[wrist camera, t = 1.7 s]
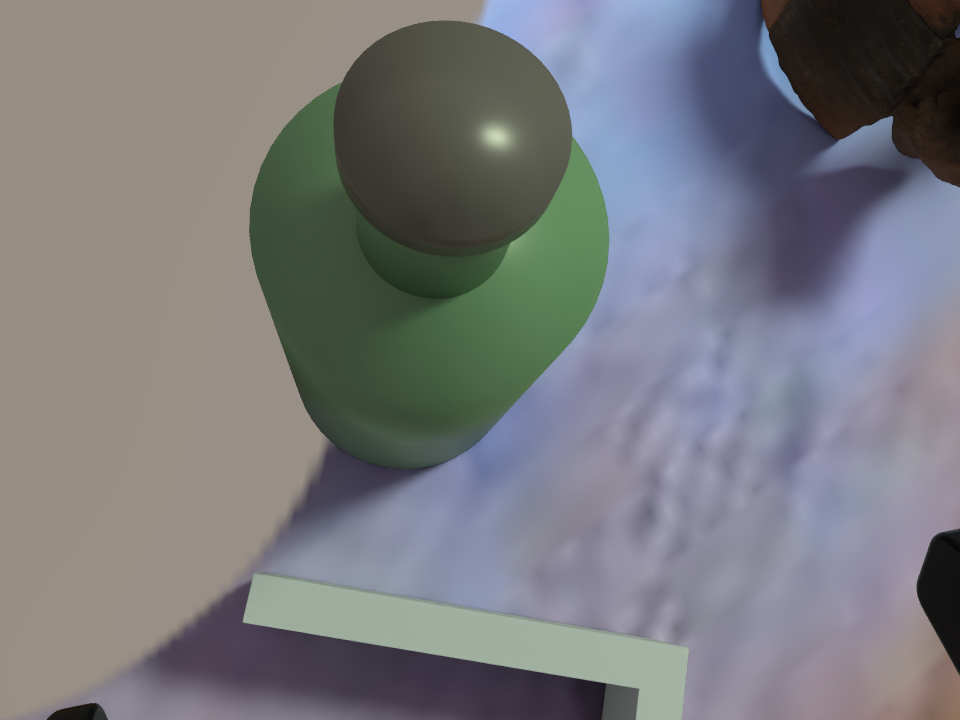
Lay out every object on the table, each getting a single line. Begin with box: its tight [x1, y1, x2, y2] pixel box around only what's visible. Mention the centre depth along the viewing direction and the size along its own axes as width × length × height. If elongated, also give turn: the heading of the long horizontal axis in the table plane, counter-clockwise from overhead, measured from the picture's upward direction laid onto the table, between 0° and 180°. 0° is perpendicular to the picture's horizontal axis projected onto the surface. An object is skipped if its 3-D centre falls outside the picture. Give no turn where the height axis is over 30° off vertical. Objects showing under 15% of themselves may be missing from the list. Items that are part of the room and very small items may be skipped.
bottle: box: [249, 21, 609, 469], centre depth 16 cm, size 6×6×12 cm
